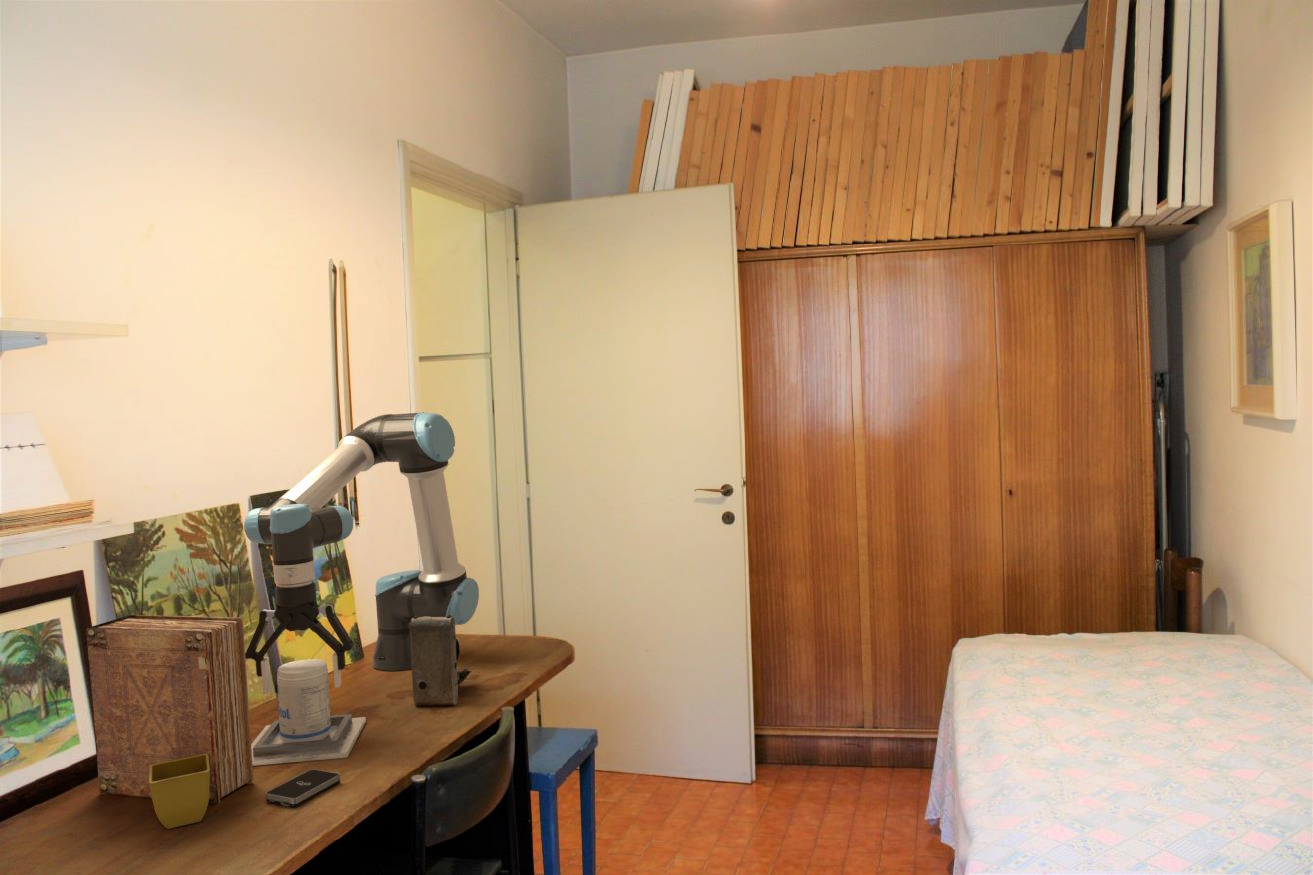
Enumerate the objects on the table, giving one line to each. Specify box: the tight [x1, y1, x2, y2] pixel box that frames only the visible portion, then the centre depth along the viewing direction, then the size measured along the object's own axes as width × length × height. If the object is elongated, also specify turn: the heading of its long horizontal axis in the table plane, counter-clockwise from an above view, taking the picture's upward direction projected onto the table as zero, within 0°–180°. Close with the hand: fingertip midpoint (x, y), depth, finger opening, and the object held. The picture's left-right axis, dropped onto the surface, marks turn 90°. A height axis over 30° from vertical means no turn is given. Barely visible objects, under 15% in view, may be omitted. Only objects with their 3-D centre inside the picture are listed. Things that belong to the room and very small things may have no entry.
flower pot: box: [149, 754, 210, 830], centre depth 156 cm, size 9×9×9 cm
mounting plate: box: [251, 713, 367, 767], centre depth 189 cm, size 20×20×3 cm
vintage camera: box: [409, 615, 472, 707], centre depth 215 cm, size 10×16×20 cm, turn 174°
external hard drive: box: [265, 768, 341, 809], centre depth 165 cm, size 7×11×2 cm, turn 156°
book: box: [85, 614, 255, 806], centre depth 169 cm, size 25×9×30 cm, turn 74°
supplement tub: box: [276, 658, 331, 743], centre depth 189 cm, size 10×10×15 cm
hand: (302, 688), depth 189 cm, fingers open, 13 cm apart
